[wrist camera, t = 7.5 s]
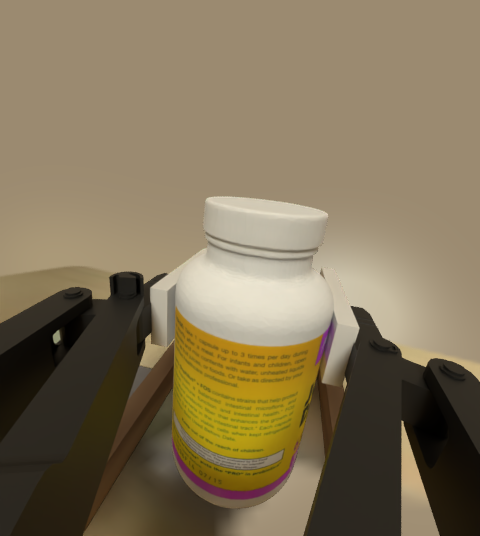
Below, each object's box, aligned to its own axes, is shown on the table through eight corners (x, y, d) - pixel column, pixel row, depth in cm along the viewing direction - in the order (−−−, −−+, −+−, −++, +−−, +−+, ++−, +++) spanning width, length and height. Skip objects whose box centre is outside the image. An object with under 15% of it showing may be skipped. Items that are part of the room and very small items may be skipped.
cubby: (61, 522, 12) (39, 425, 10) (189, 337, 25) (191, 281, 23) (376, 643, 9) (435, 551, 7) (330, 369, 23) (346, 310, 21)
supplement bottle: (307, 522, 11) (402, 231, 7) (154, 511, 11) (149, 204, 7) (283, 397, 17) (325, 203, 13) (186, 388, 17) (194, 189, 13)
